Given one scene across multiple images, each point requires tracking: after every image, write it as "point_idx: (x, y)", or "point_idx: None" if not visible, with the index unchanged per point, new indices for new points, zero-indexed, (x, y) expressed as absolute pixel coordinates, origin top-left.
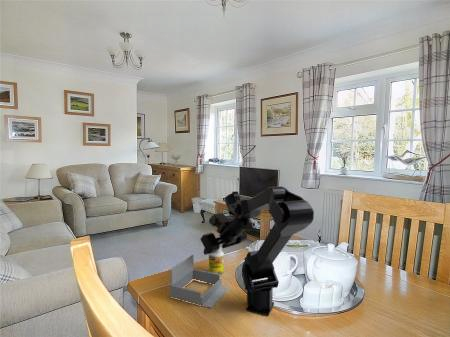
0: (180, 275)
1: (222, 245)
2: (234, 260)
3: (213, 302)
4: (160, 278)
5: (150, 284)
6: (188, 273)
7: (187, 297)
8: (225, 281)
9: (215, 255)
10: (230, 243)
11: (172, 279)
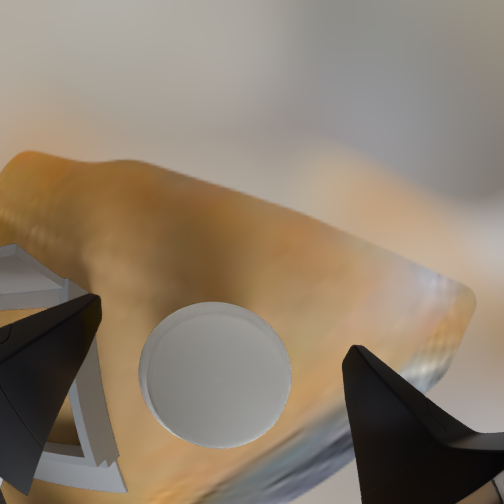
0: None
1: (357, 356)
2: (399, 335)
3: None
4: (62, 175)
5: (22, 183)
6: (21, 293)
7: None
8: (171, 451)
9: (150, 410)
10: (373, 471)
11: None
